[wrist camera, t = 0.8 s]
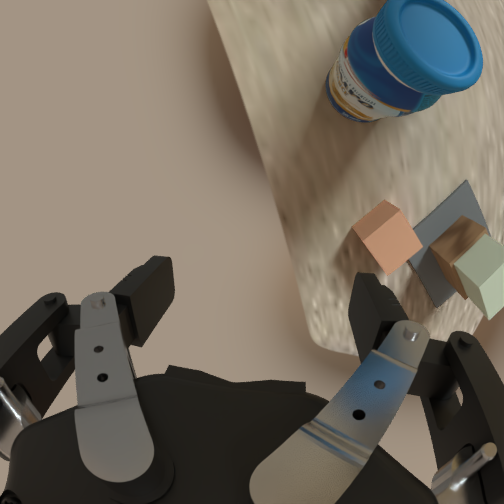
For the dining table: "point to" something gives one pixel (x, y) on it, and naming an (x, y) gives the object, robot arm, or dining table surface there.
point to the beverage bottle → (404, 61)
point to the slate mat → (432, 228)
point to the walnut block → (456, 248)
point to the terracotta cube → (388, 236)
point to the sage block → (483, 274)
